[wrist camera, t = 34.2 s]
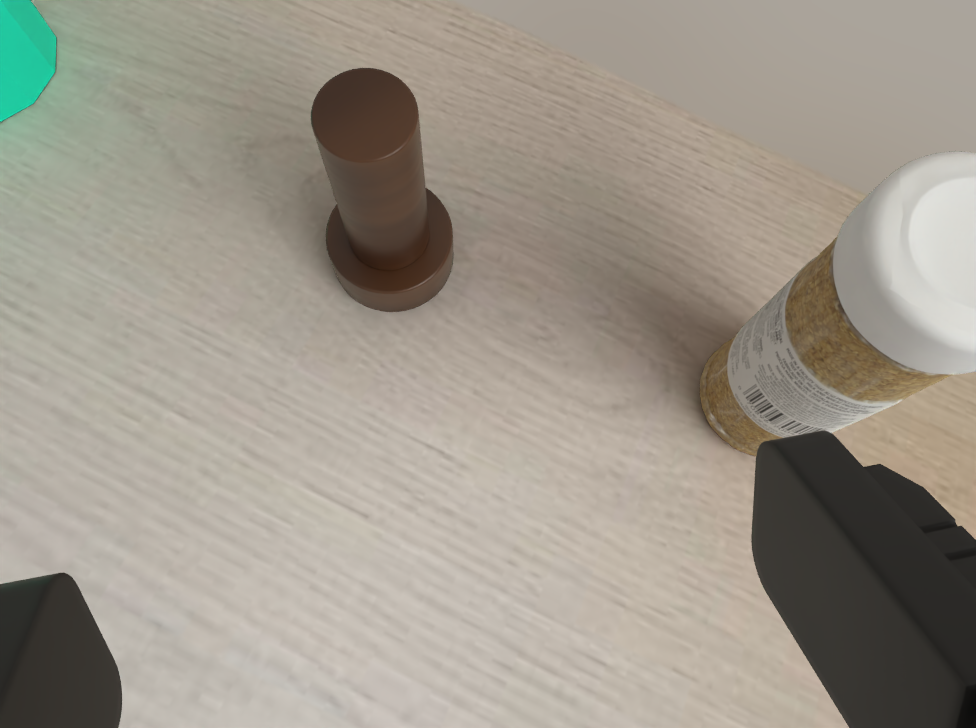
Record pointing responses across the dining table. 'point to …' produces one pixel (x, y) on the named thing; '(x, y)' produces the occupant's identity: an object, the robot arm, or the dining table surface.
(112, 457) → the dining table surface
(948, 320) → the sprinkles bottle
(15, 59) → the candle
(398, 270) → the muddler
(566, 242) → the dining table surface
